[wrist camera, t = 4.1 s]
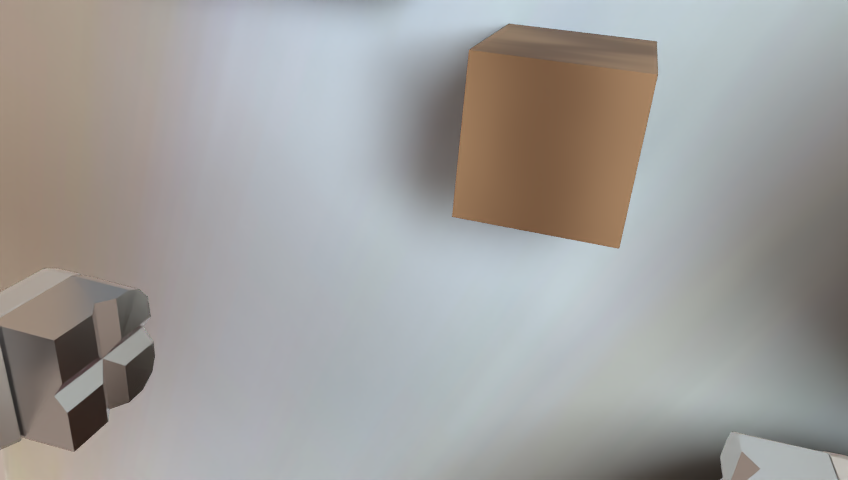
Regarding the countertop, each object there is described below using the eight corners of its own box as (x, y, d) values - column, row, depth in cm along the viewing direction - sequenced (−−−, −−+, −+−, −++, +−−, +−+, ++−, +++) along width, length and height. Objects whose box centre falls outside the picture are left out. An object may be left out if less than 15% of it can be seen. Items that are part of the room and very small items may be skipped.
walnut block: (656, 41, 23) (657, 74, 17) (626, 181, 25) (619, 248, 20) (509, 23, 24) (468, 49, 19) (492, 159, 26) (452, 216, 21)
